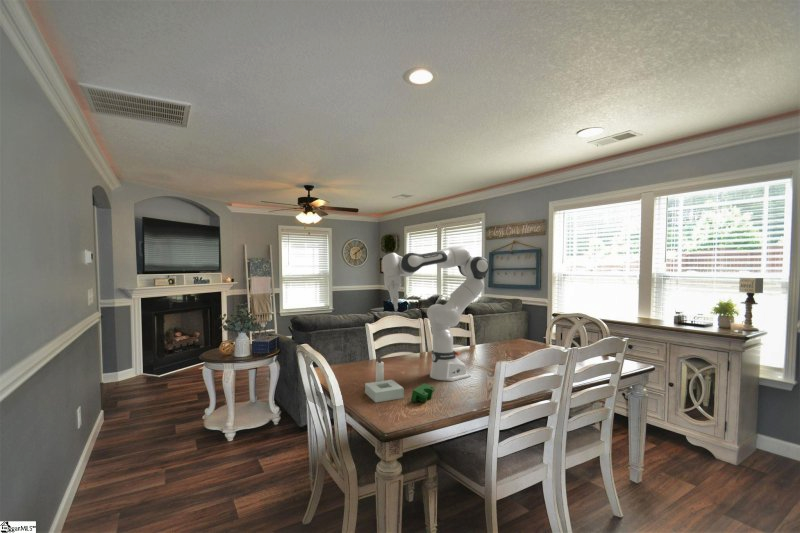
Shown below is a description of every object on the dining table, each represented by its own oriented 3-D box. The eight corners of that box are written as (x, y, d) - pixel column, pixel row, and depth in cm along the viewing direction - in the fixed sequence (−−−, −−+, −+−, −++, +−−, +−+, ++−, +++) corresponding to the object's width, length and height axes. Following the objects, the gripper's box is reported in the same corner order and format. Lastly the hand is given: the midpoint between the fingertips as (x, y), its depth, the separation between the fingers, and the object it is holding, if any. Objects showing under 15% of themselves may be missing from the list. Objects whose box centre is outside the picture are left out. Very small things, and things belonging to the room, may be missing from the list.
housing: (391, 388, 187) (391, 379, 187) (403, 397, 175) (403, 388, 175) (365, 392, 181) (365, 383, 181) (375, 402, 169) (375, 392, 169)
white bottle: (382, 384, 194) (381, 357, 194) (385, 386, 190) (384, 359, 190) (374, 385, 192) (374, 358, 192) (377, 387, 188) (377, 359, 188)
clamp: (422, 412, 168) (422, 398, 164) (411, 407, 171) (411, 392, 167) (435, 395, 177) (436, 381, 173) (424, 390, 180) (424, 375, 176)
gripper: (399, 278, 188) (402, 306, 185) (398, 286, 208) (402, 311, 205) (386, 280, 188) (389, 307, 185) (387, 287, 208) (390, 312, 205)
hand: (396, 309), depth 195 cm, fingers open, 8 cm apart
